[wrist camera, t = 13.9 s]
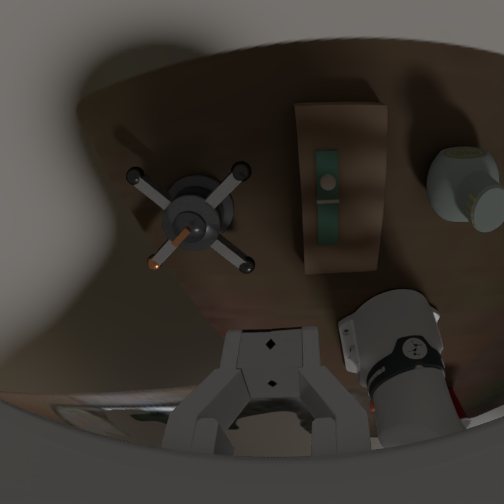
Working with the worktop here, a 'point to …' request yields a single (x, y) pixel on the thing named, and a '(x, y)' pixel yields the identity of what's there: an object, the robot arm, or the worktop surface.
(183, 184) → the pedestal
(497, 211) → the air freshener
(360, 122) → the level stand
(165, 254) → the capstan
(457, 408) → the plastic cup
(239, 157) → the worktop surface
